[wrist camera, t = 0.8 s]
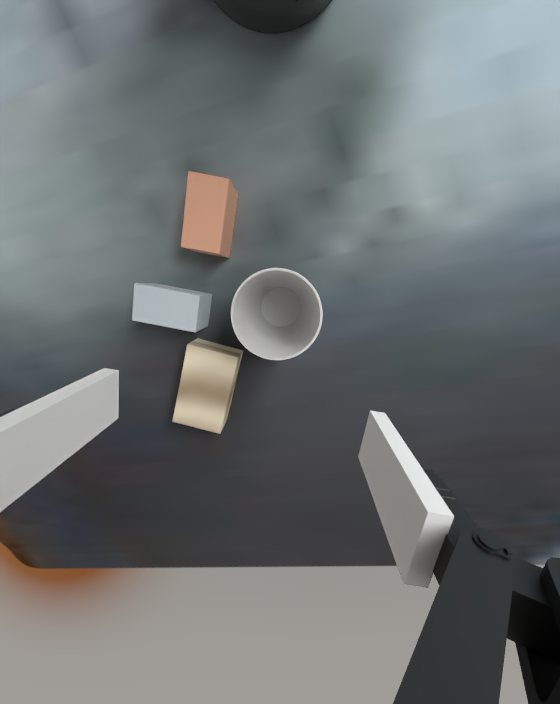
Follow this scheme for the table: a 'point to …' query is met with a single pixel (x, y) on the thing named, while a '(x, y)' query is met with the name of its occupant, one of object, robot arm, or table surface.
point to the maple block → (207, 385)
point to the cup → (276, 313)
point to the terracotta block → (209, 214)
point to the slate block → (171, 306)
